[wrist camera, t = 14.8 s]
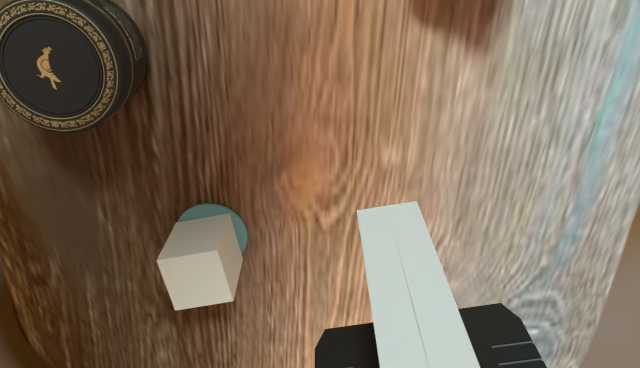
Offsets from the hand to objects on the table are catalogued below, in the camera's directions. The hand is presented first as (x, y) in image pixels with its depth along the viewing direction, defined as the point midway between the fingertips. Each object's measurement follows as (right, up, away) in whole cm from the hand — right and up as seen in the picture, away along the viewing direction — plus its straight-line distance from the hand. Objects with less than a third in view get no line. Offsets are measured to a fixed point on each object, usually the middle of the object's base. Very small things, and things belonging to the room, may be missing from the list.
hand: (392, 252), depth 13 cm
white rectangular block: (-12, -4, +37) cm, 39 cm away
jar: (-21, +13, +30) cm, 39 cm away
